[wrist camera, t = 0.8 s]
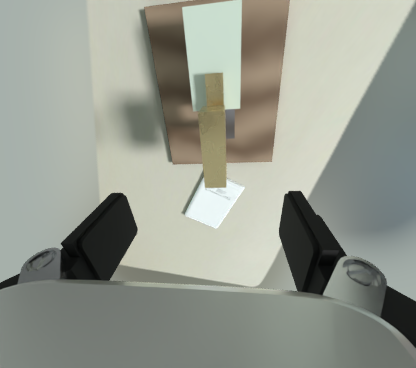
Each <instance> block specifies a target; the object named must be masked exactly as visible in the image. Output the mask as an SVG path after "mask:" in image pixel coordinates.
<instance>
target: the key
mask: <svg viewBox="0 0 416 368" xmlns="http://www.w3.org/2000/svg"><path fill="white" fill-rule="evenodd" d="M205 85H206V99H207V106H203V107H202V108H201V109H200V110H199V112H198V120H199V130H200V141H201V152H202V162H203V173H204V183H205V188H226V185H227V163H226V119H225V105H224V87H223V73H211V74H205Z"/></svg>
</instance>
